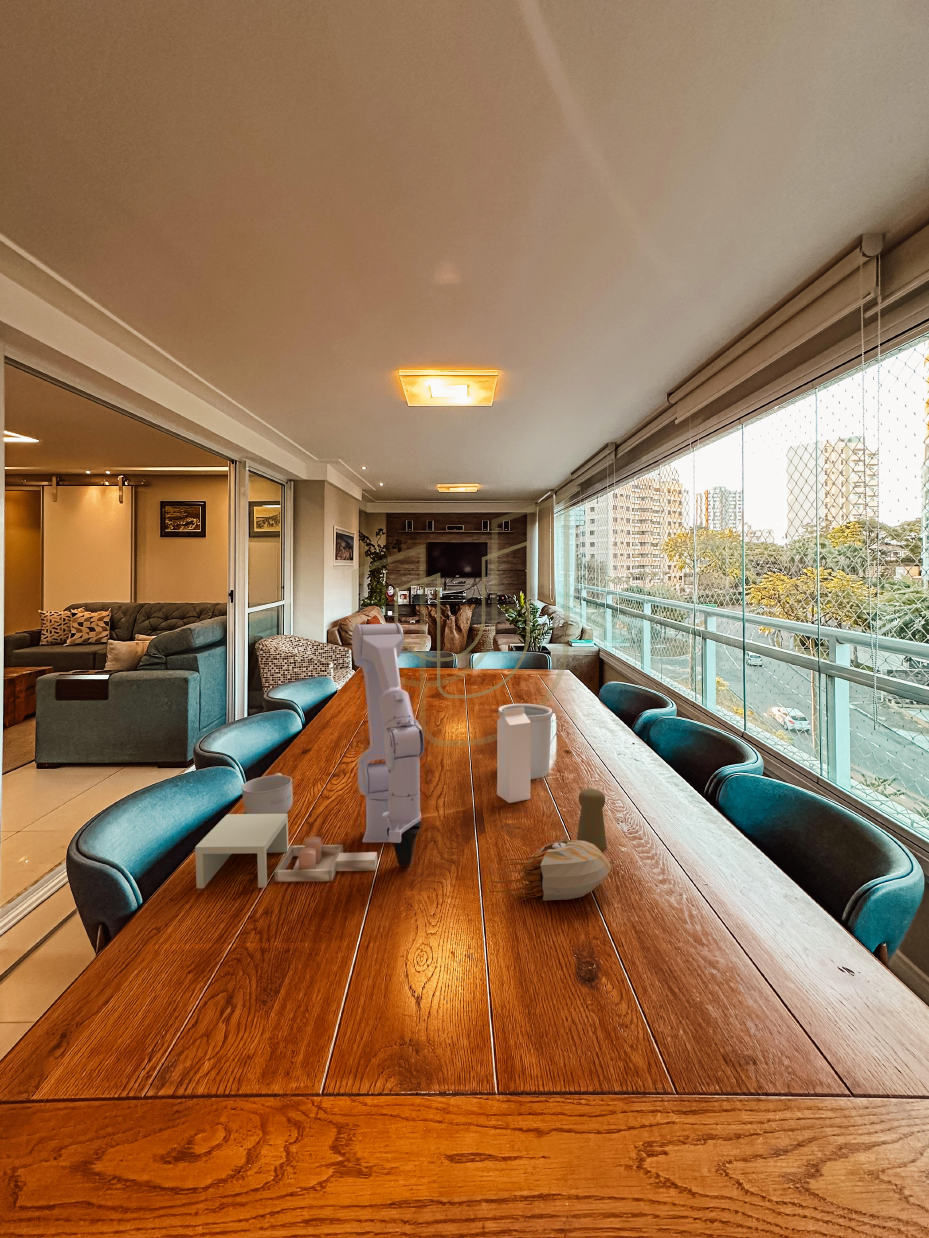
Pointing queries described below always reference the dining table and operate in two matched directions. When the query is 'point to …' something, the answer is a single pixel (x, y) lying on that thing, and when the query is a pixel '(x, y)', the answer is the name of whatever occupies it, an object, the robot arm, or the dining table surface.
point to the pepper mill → (592, 818)
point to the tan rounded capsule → (315, 847)
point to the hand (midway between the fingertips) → (404, 863)
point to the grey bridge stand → (241, 843)
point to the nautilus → (561, 870)
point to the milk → (513, 755)
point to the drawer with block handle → (325, 864)
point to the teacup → (268, 795)
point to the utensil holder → (537, 736)
